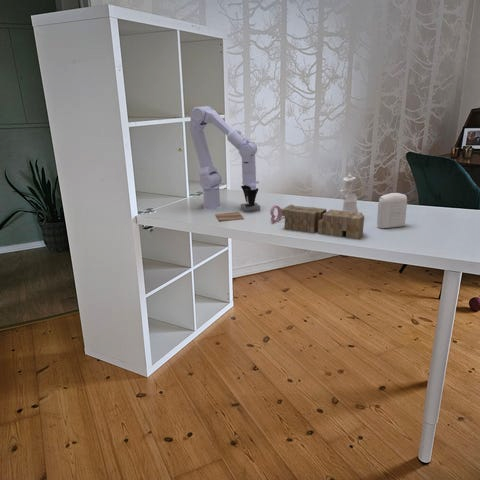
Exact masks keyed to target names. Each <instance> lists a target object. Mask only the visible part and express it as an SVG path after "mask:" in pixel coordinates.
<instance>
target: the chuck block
mask: <svg viewBox="0 0 480 480" xmlns="http://www.w3.org/2000/svg"><path fill="white" fill-rule="evenodd" d="M240 209H241V211H243V213H252V212H261V205H260V204H258V203H257V202H255V203H254V205H253V206H248V207H247V203H241V204H240Z"/></svg>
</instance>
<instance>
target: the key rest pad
mask: <svg viewBox="0 0 480 480" xmlns="http://www.w3.org/2000/svg"><path fill="white" fill-rule="evenodd" d="M214 214H215V213H214ZM215 217H216V219H217V220H218V222H219V223H220V222H221V223H222V222H230V221H240V220H241V221H242V220H245V218H244V216H243V215H242V214H241V213H240V212H239V211H237V212H225V213H216V214H215Z"/></svg>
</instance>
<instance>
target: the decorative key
mask: <svg viewBox="0 0 480 480" xmlns="http://www.w3.org/2000/svg"><path fill="white" fill-rule="evenodd" d="M281 209H282V208H281V207H280V206H279V205H275V204H274V205H272V206H271V208H270V210H269V211H270V212H269V213H270V216H271V217H270V222H271V223H275V224H276V223H278V222H279V221H280V220H281V219H282V217H283V216H281ZM275 210H277V216H276V215H274V211H275ZM275 218H276V219H275Z"/></svg>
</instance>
